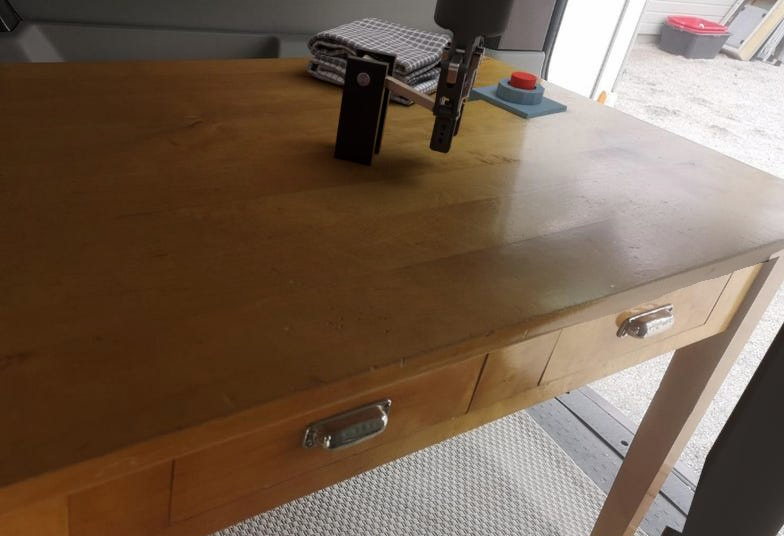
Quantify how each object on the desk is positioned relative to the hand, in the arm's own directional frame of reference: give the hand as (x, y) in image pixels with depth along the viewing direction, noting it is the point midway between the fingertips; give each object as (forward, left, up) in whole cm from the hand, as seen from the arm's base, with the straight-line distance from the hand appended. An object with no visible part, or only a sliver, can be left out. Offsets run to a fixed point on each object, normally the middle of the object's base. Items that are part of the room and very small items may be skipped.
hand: (443, 141), depth 85 cm
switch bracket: (+8, +6, -5) cm, 11 cm away
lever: (+4, +3, +3) cm, 6 cm away
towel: (+31, -18, -5) cm, 37 cm away
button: (+14, -31, -2) cm, 34 cm away
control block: (+14, -30, -5) cm, 34 cm away
